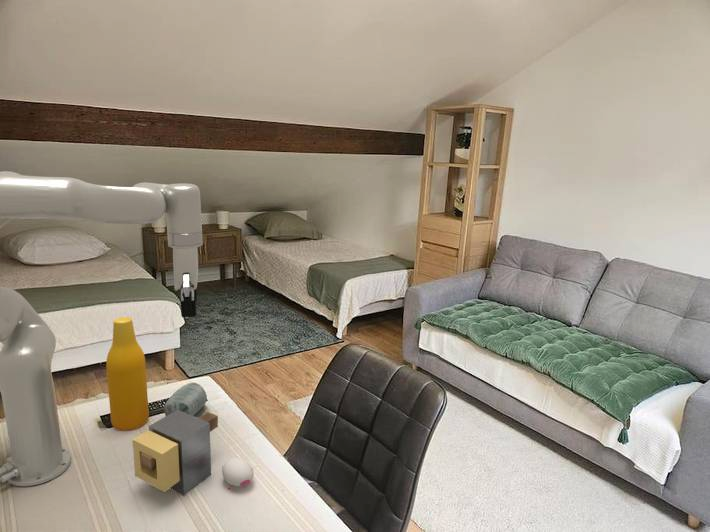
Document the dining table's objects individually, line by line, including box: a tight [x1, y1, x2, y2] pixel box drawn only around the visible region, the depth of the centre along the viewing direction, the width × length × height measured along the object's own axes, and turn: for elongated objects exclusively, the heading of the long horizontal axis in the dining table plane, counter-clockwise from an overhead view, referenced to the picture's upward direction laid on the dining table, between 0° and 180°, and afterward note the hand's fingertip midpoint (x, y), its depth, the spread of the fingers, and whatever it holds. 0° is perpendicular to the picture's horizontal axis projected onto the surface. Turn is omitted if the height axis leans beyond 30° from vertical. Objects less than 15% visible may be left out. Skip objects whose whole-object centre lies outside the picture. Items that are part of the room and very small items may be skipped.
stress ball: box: [221, 457, 255, 491], centre depth 110 cm, size 8×8×7 cm
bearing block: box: [148, 410, 212, 497], centre depth 109 cm, size 8×10×14 cm
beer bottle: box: [105, 316, 150, 432], centre depth 126 cm, size 9×9×29 cm
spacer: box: [131, 429, 180, 493], centre depth 103 cm, size 4×9×9 cm, turn 61°
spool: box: [163, 382, 208, 417], centre depth 133 cm, size 14×10×10 cm
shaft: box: [141, 411, 219, 471], centre depth 109 cm, size 19×3×3 cm, turn 151°
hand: (189, 309), depth 116 cm, fingers open, 9 cm apart
